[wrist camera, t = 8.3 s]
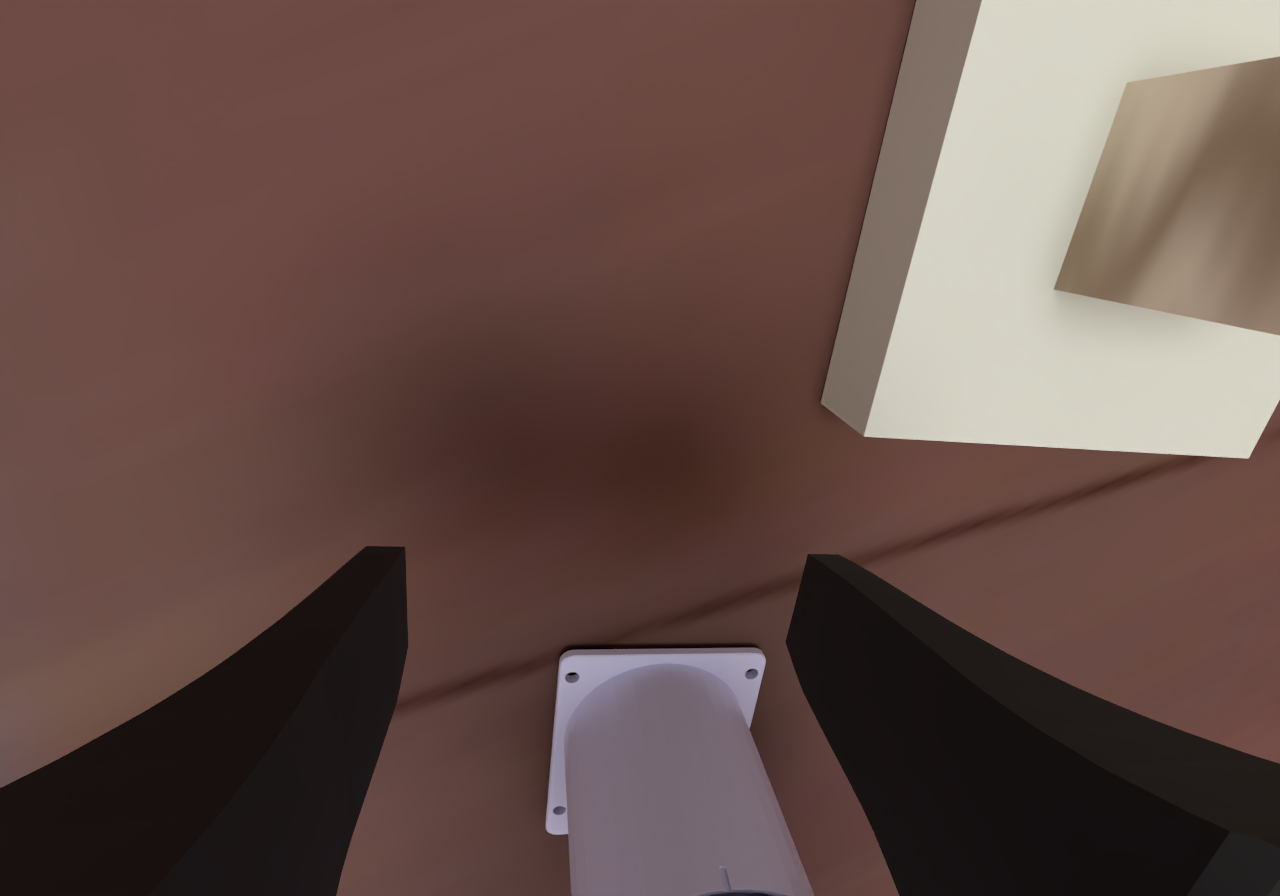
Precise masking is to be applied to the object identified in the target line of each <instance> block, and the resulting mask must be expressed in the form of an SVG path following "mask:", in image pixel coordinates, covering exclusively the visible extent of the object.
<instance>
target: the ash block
mask: <svg viewBox="0 0 1280 896" xmlns="http://www.w3.org/2000/svg"><path fill="white" fill-rule="evenodd" d="M1054 290H1059V291H1064V292H1068V293H1073V294H1078V295H1083V296H1088V297H1093V298H1098V299H1103V300H1108V301H1112V302H1117V303H1122V304H1127V305H1132V306H1137V307H1142V308H1147V309H1152V310H1157V311H1161V312H1166V313H1171V314H1176V315H1181V316H1186V317H1191V318H1196V319H1201V320H1206V321H1210V322H1215V323H1220V324H1225V325H1230V326H1235V327H1240V328H1245V329H1250V330H1255V331H1259V332H1264V333H1269V334H1274V335H1279V336H1280V56H1279V57H1274V58H1268V59H1262V60H1256V61H1250V62H1244V63H1238V64H1233V65H1227V66H1221V67H1215V68H1209V69H1203V70H1198V71H1192V72H1186V73H1180V74H1174V75H1168V76H1163V77H1157V78H1151V79H1145V80H1139V81H1133V82H1128V83H1127V84H1126V87H1125V89H1124V92H1123V95H1122V98H1121V101H1120V103H1119V106H1118V109H1117V112H1116V115H1115V118H1114V120H1113V123H1112V126H1111V129H1110V132H1109V134H1108V137H1107V140H1106V143H1105V146H1104V149H1103V151H1102V154H1101V157H1100V160H1099V163H1098V166H1097V168H1096V171H1095V174H1094V177H1093V180H1092V182H1091V185H1090V188H1089V191H1088V194H1087V197H1086V199H1085V202H1084V205H1083V208H1082V211H1081V213H1080V216H1079V219H1078V222H1077V225H1076V228H1075V230H1074V233H1073V236H1072V239H1071V242H1070V244H1069V247H1068V250H1067V253H1066V256H1065V259H1064V261H1063V264H1062V267H1061V270H1060V273H1059V275H1058V278H1057V281H1056V284H1055V287H1054Z"/></svg>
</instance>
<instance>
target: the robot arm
mask: <svg viewBox="0 0 1280 896" xmlns="http://www.w3.org/2000/svg"><path fill="white" fill-rule="evenodd" d="M786 644H787V647H788V650H789V653H790V656H791V659H792V662H793V666H794V669H795V671H796V674H797V677H798V679H799V682H800V685H801V687H802V690H803V692H804V694H805V696H806V698H807V701H808V703H809V705H810V707H811V709H812V711H813V712H814V714H815V716H816V718H817V720H818V722H819V724H820V726H821V728H822V730H823V732H824V734H825V736H826V738H827V740H828V742H829V744H830V746H831V748H832V749H833V751H834V753H835V755H836V757H837V759H838V761H839V763H840V765H841V767H842V769H843V771H844V773H845V774H846V776H847V778H848V780H849V782H850V784H851V786H852V788H853V790H854V792H855V794H856V796H857V798H858V800H859V801H860V803H861V805H862V807H863V810H864V812H865V814H866V816H867V818H868V820H869V822H870V824H871V827H872V829H873V831H874V833H875V836H876V838H877V841H878V843H879V846H880V848H881V850H882V853H883V855H884V858H885V860H886V863H887V865H888V868H889V870H890V873H891V875H892V878H893V880H894V883H895V885H896V888H897V890H898V893H899V895H900V896H1280V764H1279V763H1276V762H1272V761H1269V760H1266V759H1262V758H1259V757H1256V756H1253V755H1250V754H1247V753H1244V752H1241V751H1238V750H1235V749H1232V748H1230V747H1227V746H1224V745H1221V744H1218V743H1215V742H1212V741H1209V740H1207V739H1204V738H1201V737H1198V736H1195V735H1192V734H1189V733H1187V732H1184V731H1181V730H1179V729H1176V728H1173V727H1171V726H1168V725H1165V724H1163V723H1160V722H1158V721H1155V720H1152V719H1150V718H1147V717H1145V716H1142V715H1140V714H1138V713H1135V712H1133V711H1130V710H1128V709H1126V708H1123V707H1121V706H1118V705H1116V704H1113V703H1111V702H1109V701H1106V700H1104V699H1101V698H1099V697H1097V696H1094V695H1092V694H1090V693H1088V692H1085V691H1083V690H1081V689H1079V688H1076V687H1074V686H1072V685H1070V684H1068V683H1066V682H1064V681H1062V680H1060V679H1057V678H1055V677H1053V676H1051V675H1049V674H1047V673H1045V672H1043V671H1041V670H1039V669H1037V668H1035V667H1033V666H1031V665H1029V664H1027V663H1025V662H1023V661H1021V660H1019V659H1017V658H1015V657H1013V656H1011V655H1009V654H1007V653H1005V652H1004V651H1002V650H1000V649H998V648H996V647H995V646H993V645H991V644H989V643H987V642H986V641H984V640H982V639H980V638H978V637H977V636H975V635H973V634H971V633H970V632H968V631H966V630H964V629H963V628H961V627H959V626H958V625H956V624H954V623H952V622H951V621H949V620H947V619H946V618H944V617H942V616H941V615H939V614H937V613H936V612H934V611H932V610H931V609H929V608H928V607H926V606H924V605H923V604H921V603H919V602H918V601H916V600H915V599H913V598H911V597H910V596H908V595H907V594H905V593H903V592H902V591H900V590H899V589H897V588H895V587H894V586H892V585H890V584H889V583H887V582H886V581H884V580H882V579H881V578H879V577H878V576H876V575H874V574H873V573H871V572H869V571H868V570H866V569H864V568H863V567H861V566H859V565H857V564H856V563H854V562H852V561H850V560H848V559H846V558H844V557H842V556H840V555H828V554H808V556H807V560H806V564H805V568H804V572H803V576H802V580H801V584H800V588H799V592H798V596H797V600H796V604H795V608H794V612H793V615H792V619H791V623H790V627H789V631H788V635H787V639H786ZM407 649H408V627H407V594H406V560H405V547H380V546H366V547H365V548H364V549H363V550H361V551H360V552H359V553H358V554H357V555H355V556H354V557H353V558H352V559H350V560H349V561H348V562H347V563H346V564H345V565H344V566H342V567H341V568H340V569H339V570H338V571H337V572H336V573H334V574H333V575H332V576H331V577H330V578H329V579H328V580H326V581H325V582H324V583H323V584H322V585H321V586H319V587H318V588H317V589H316V590H315V591H314V592H312V593H311V594H310V595H309V596H308V597H306V598H305V599H304V600H303V601H302V602H300V603H299V604H298V605H297V606H296V607H294V608H293V609H292V610H291V611H289V612H288V613H287V614H286V615H285V616H283V617H282V618H281V619H280V620H278V621H277V622H276V623H275V624H273V625H272V626H271V627H269V628H268V629H267V630H265V631H264V632H263V633H261V634H260V635H259V636H257V637H256V638H255V639H253V640H252V641H251V642H249V643H248V644H247V645H245V646H244V647H243V648H241V649H240V650H239V651H237V652H236V653H235V654H233V655H232V656H230V657H229V658H228V659H226V660H225V661H223V662H222V663H220V664H219V665H217V666H216V667H214V668H213V669H212V670H210V671H209V672H207V673H206V674H204V675H203V676H201V677H200V678H198V679H196V680H195V681H193V682H192V683H190V684H188V685H187V686H185V687H184V688H182V689H181V690H179V691H177V692H176V693H174V694H173V695H171V696H169V697H168V698H166V699H165V700H163V701H161V702H160V703H158V704H156V705H155V706H153V707H151V708H150V709H148V710H146V711H145V712H143V713H141V714H139V715H138V716H136V717H134V718H132V719H130V720H129V721H127V722H125V723H123V724H121V725H120V726H118V727H116V728H114V729H112V730H110V731H109V732H107V733H105V734H103V735H101V736H100V737H98V738H96V739H94V740H92V741H91V742H89V743H87V744H85V745H83V746H82V747H80V748H78V749H76V750H74V751H72V752H71V753H69V754H67V755H65V756H63V757H62V758H60V759H58V760H56V761H54V762H52V763H50V764H48V765H46V766H44V767H42V768H40V769H38V770H36V771H34V772H32V773H30V774H28V775H26V776H24V777H22V778H20V779H18V780H16V781H14V782H12V783H10V784H8V785H6V786H4V787H2V788H0V896H336V894H337V889H338V885H339V881H340V877H341V872H342V869H343V865H344V862H345V858H346V855H347V852H348V848H349V845H350V841H351V838H352V835H353V832H354V829H355V826H356V823H357V820H358V817H359V814H360V811H361V808H362V805H363V802H364V799H365V796H366V793H367V790H368V787H369V784H370V781H371V778H372V775H373V772H374V769H375V766H376V763H377V760H378V757H379V754H380V751H381V748H382V745H383V742H384V739H385V736H386V733H387V730H388V727H389V724H390V721H391V718H392V715H393V712H394V709H395V706H396V703H397V698H398V694H399V689H400V684H401V679H402V674H403V669H404V664H405V659H406V654H407ZM765 664H766V658H765V656H764V654H763V652H762V651H761V650H760V649H758V648H674V649H591V650H569V651H567V652H565V653H563V654H562V656H561V657H560V660H559V669H558V680H557V692H556V704H555V716H554V727H553V739H552V751H551V763H550V774H549V786H548V798H547V810H546V830H547V831H548V832H549V833H551V834H554V835H561V834H568V840H569V860H570V881H571V896H814V893H813V891H812V888H811V886H810V883H809V881H808V878H807V876H806V873H805V870H804V868H803V865H802V863H801V860H800V858H799V855H798V853H797V850H796V847H795V845H794V842H793V840H792V837H791V835H790V832H789V830H788V827H787V824H786V822H785V819H784V817H783V814H782V812H781V809H780V807H779V804H778V801H777V799H776V796H775V794H774V791H773V789H772V786H771V784H770V781H769V778H768V776H767V773H766V771H765V768H764V766H763V763H762V760H761V758H760V755H759V753H758V750H757V748H756V745H755V743H754V740H753V737H752V735H751V732H750V726H751V722H752V717H753V713H754V709H755V705H756V701H757V697H758V693H759V689H760V685H761V680H762V676H763V672H764V668H765ZM749 669H753V670H752V671H750V672H747V671H748V670H749ZM571 672H575V673H577V674H575V675H572V676H570V675H567V674H568V673H571Z"/></svg>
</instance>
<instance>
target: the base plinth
mask: <svg viewBox="0 0 1280 896" xmlns="http://www.w3.org/2000/svg"><path fill="white" fill-rule="evenodd" d="M1279 56H1280V0H916V4H915V8H914V12H913V16H912V21H911V25H910V29H909V33H908V38H907V42H906V46H905V50H904V54H903V59H902V63H901V67H900V71H899V75H898V80H897V84H896V88H895V92H894V96H893V101H892V105H891V109H890V113H889V117H888V122H887V126H886V130H885V134H884V138H883V143H882V147H881V151H880V155H879V159H878V164H877V168H876V172H875V176H874V180H873V185H872V189H871V193H870V197H869V202H868V206H867V210H866V214H865V218H864V223H863V227H862V231H861V235H860V239H859V244H858V248H857V252H856V256H855V260H854V265H853V269H852V273H851V277H850V281H849V286H848V290H847V294H846V298H845V302H844V307H843V311H842V315H841V319H840V323H839V328H838V332H837V336H836V340H835V344H834V349H833V353H832V357H831V361H830V366H829V370H828V374H827V378H826V382H825V387H824V391H823V395H822V399H821V404H822V405H823V406H825V407H826V408H827V409H829V410H830V411H831V412H832V413H834V414H835V415H836V416H838V417H839V418H840V419H842V420H843V421H844V422H845V423H847V424H848V425H849V426H851V427H852V428H853V429H855V430H856V431H857V432H858V433H860V434H861V435H862V436H864V437H880V438H898V439H915V440H933V441H950V442H968V443H985V444H1003V445H1021V446H1038V447H1056V448H1073V449H1091V450H1109V451H1126V452H1144V453H1161V454H1179V455H1196V456H1214V457H1232V458H1249V456H1250V455H1251V453H1252V451H1253V449H1254V447H1255V445H1256V443H1257V441H1258V439H1259V438H1260V436H1261V434H1262V432H1263V430H1264V428H1265V426H1266V424H1267V422H1268V421H1269V419H1270V417H1271V415H1272V413H1273V411H1274V409H1275V407H1276V405H1277V404H1278V402H1279V400H1280V336H1279V335H1274V334H1269V333H1264V332H1259V331H1255V330H1250V329H1245V328H1240V327H1235V326H1230V325H1225V324H1220V323H1215V322H1210V321H1206V320H1201V319H1196V318H1191V317H1186V316H1181V315H1176V314H1171V313H1166V312H1161V311H1157V310H1152V309H1147V308H1142V307H1137V306H1132V305H1127V304H1122V303H1117V302H1112V301H1108V300H1103V299H1098V298H1093V297H1088V296H1083V295H1078V294H1073V293H1068V292H1064V291H1059V290H1054V287H1055V284H1056V281H1057V278H1058V275H1059V273H1060V270H1061V267H1062V264H1063V261H1064V259H1065V256H1066V253H1067V250H1068V247H1069V244H1070V242H1071V239H1072V236H1073V233H1074V230H1075V228H1076V225H1077V222H1078V219H1079V216H1080V213H1081V211H1082V208H1083V205H1084V202H1085V199H1086V197H1087V194H1088V191H1089V188H1090V185H1091V182H1092V180H1093V177H1094V174H1095V171H1096V168H1097V166H1098V163H1099V160H1100V157H1101V154H1102V151H1103V149H1104V146H1105V143H1106V140H1107V137H1108V134H1109V132H1110V129H1111V126H1112V123H1113V120H1114V118H1115V115H1116V112H1117V109H1118V106H1119V103H1120V101H1121V98H1122V95H1123V92H1124V89H1125V87H1126V84H1127V83H1128V82H1133V81H1139V80H1145V79H1151V78H1157V77H1163V76H1168V75H1174V74H1180V73H1186V72H1192V71H1198V70H1203V69H1209V68H1215V67H1221V66H1227V65H1233V64H1238V63H1244V62H1250V61H1256V60H1262V59H1268V58H1274V57H1279Z"/></svg>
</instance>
